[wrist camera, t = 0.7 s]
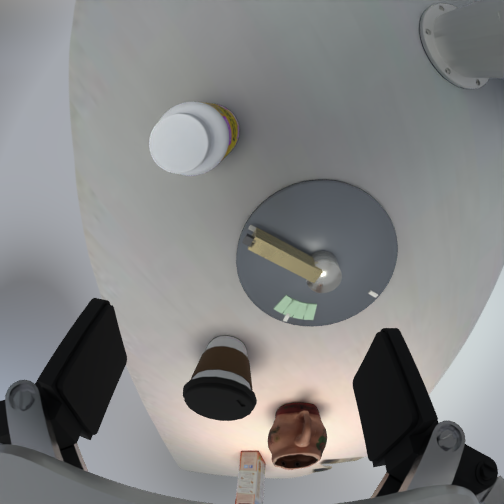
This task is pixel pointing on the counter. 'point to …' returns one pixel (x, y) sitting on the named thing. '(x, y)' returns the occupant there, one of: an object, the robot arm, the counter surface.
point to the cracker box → (250, 478)
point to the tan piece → (297, 260)
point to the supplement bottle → (193, 138)
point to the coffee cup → (221, 382)
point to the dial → (320, 239)
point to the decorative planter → (297, 436)
